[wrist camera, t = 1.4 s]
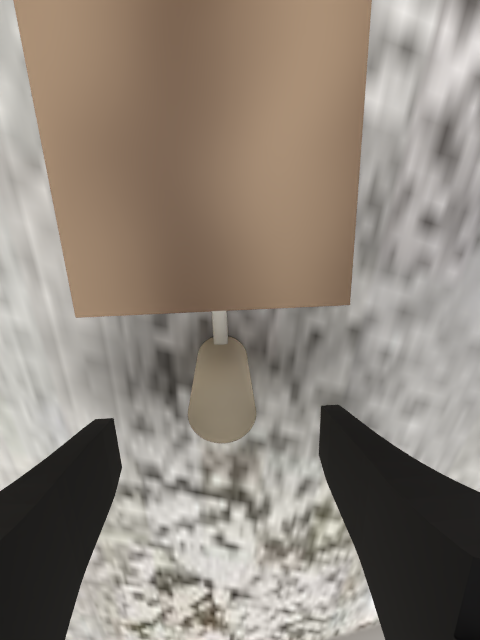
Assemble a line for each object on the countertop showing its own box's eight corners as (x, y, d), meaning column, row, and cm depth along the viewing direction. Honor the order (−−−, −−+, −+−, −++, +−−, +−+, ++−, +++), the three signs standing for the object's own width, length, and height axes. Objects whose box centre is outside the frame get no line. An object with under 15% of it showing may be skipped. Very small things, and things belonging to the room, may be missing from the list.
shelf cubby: (311, -49, 13) (392, -283, 7) (303, 269, 17) (349, 304, 11) (86, -47, 12) (-44, -290, 6) (130, 277, 16) (75, 317, 10)
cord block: (259, 12, 13) (281, -101, 8) (264, 378, 18) (279, 439, 13) (146, 14, 13) (101, -101, 8) (182, 382, 18) (167, 446, 13)
